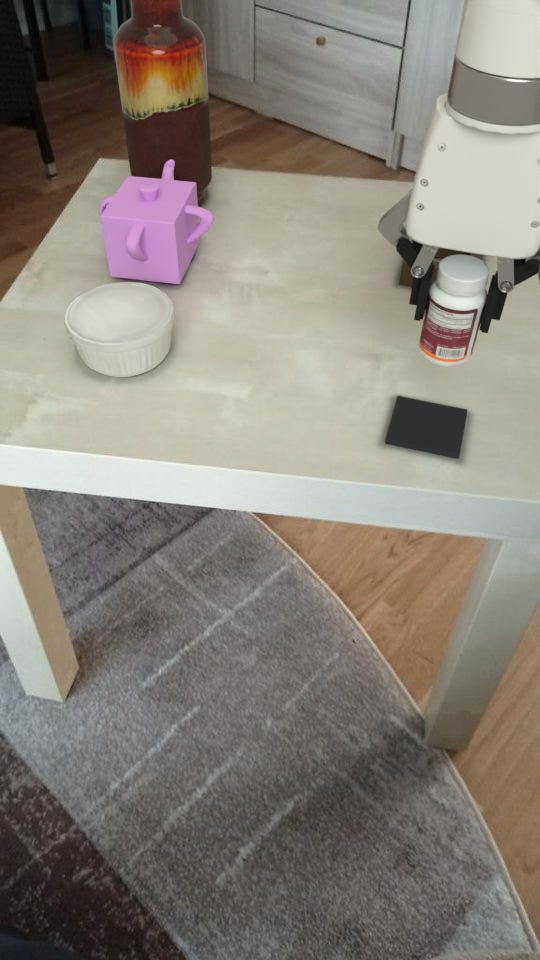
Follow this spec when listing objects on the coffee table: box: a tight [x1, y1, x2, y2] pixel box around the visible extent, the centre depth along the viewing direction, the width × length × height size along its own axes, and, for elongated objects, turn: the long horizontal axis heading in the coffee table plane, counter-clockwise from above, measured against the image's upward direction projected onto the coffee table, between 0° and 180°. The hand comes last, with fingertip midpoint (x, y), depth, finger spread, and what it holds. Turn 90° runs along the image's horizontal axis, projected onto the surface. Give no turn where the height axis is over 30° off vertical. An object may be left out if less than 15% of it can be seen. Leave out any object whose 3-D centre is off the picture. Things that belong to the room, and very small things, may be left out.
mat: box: [384, 395, 468, 459], centre depth 72 cm, size 7×7×1 cm
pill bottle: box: [418, 254, 490, 367], centre depth 62 cm, size 5×5×8 cm
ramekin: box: [63, 281, 176, 378], centre depth 78 cm, size 11×11×5 cm
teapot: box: [98, 160, 215, 285], centre depth 88 cm, size 18×14×10 cm
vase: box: [113, 0, 213, 207], centre depth 93 cm, size 11×11×26 cm
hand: (452, 315), depth 62 cm, fingers closed on pill bottle, 4 cm apart
